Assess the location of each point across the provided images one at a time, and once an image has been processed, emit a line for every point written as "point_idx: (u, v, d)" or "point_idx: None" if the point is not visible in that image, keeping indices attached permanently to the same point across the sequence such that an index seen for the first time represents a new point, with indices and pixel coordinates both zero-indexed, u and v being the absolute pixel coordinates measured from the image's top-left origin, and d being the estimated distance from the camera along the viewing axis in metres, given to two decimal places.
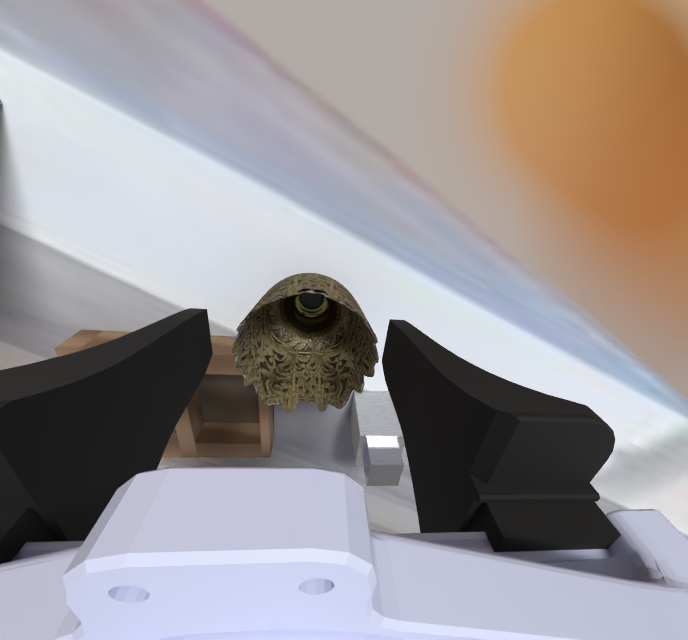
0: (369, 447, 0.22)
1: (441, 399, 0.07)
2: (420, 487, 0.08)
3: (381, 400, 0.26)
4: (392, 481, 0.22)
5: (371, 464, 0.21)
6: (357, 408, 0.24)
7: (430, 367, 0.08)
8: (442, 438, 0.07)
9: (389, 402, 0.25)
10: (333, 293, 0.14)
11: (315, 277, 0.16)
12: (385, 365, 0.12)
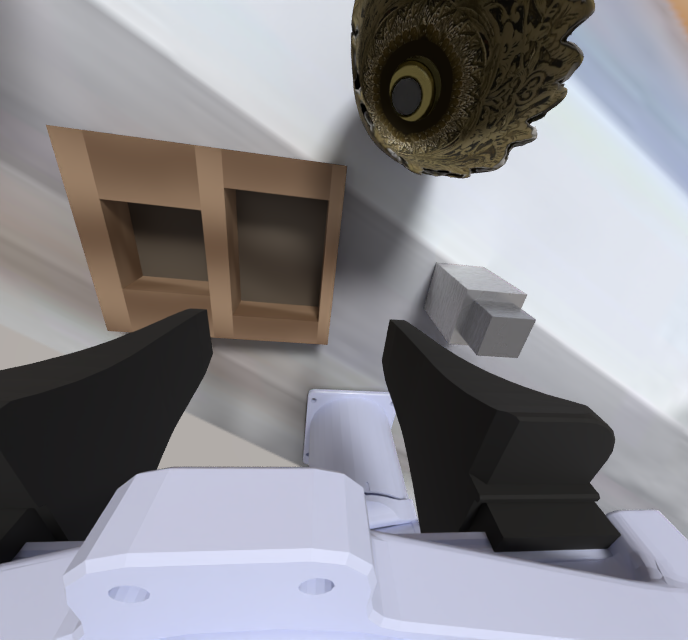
0: (480, 305, 0.16)
1: (441, 399, 0.07)
2: (420, 487, 0.08)
3: (475, 270, 0.20)
4: (512, 349, 0.16)
5: (492, 316, 0.15)
6: (449, 273, 0.19)
7: (430, 367, 0.08)
8: (442, 438, 0.07)
9: (485, 272, 0.20)
10: None
11: None
12: (385, 365, 0.12)
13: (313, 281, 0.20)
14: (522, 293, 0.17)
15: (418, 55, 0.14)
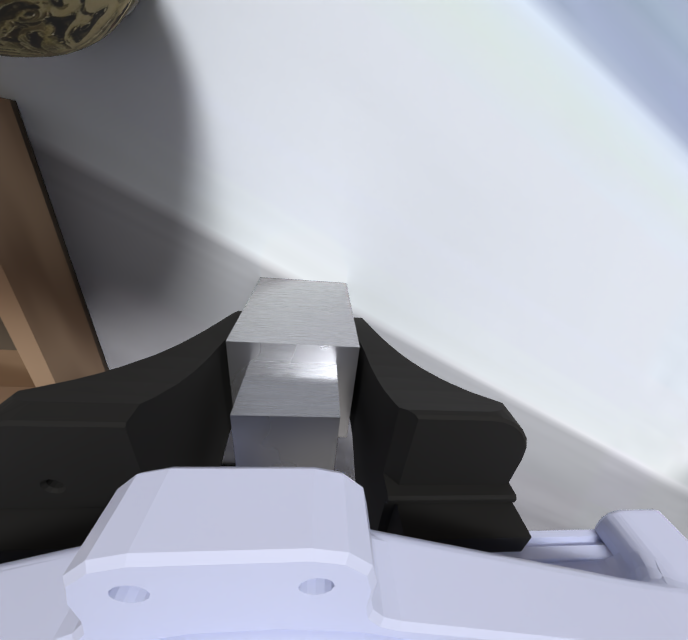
0: (250, 374, 0.08)
1: (372, 397, 0.07)
2: None
3: (316, 291, 0.11)
4: None
5: (233, 414, 0.06)
6: (251, 299, 0.10)
7: (367, 364, 0.08)
8: (371, 437, 0.07)
9: (332, 295, 0.11)
10: None
11: None
12: None
13: None
14: (352, 344, 0.08)
15: None
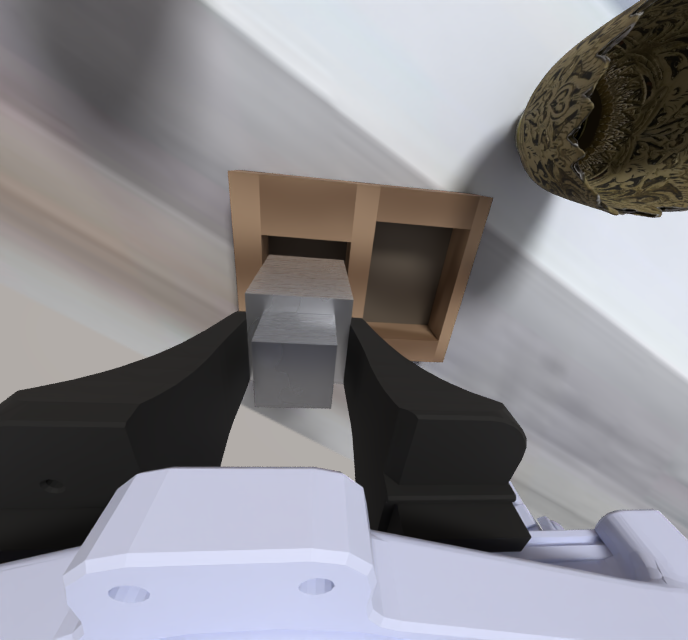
0: (265, 319, 0.09)
1: (372, 397, 0.07)
2: None
3: (317, 265, 0.13)
4: (316, 396, 0.09)
5: (253, 341, 0.08)
6: (263, 268, 0.12)
7: (367, 365, 0.08)
8: (371, 437, 0.07)
9: (331, 267, 0.13)
10: None
11: None
12: None
13: (427, 301, 0.21)
14: (347, 298, 0.10)
15: None
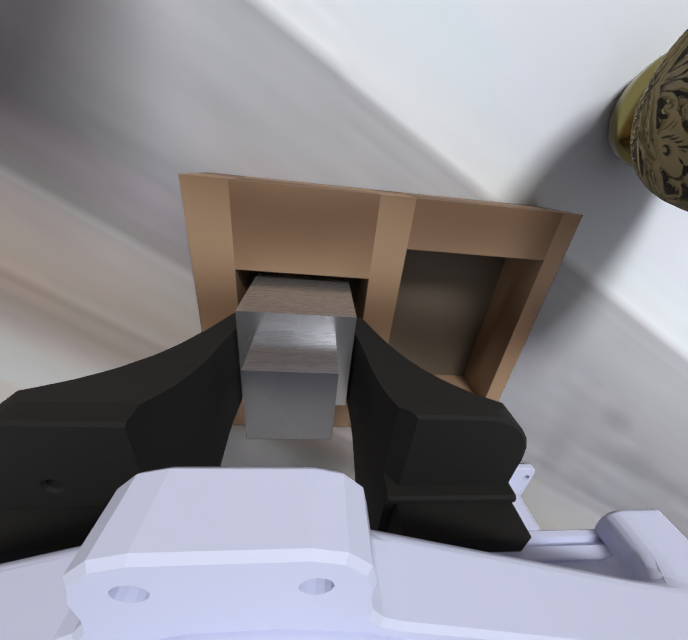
0: (258, 340, 0.08)
1: (372, 397, 0.07)
2: None
3: None
4: (315, 427, 0.08)
5: (243, 370, 0.07)
6: (257, 278, 0.11)
7: (367, 365, 0.08)
8: (371, 437, 0.07)
9: (332, 276, 0.12)
10: None
11: None
12: None
13: (464, 347, 0.16)
14: (350, 315, 0.09)
15: None
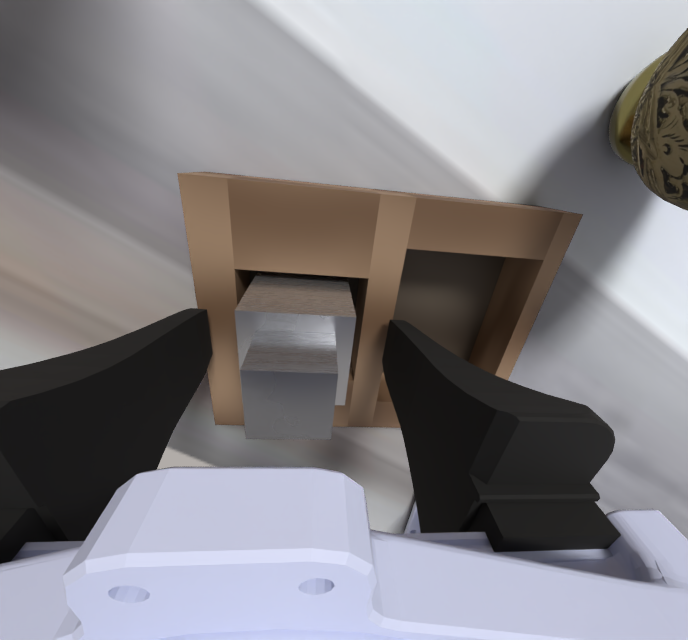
0: (257, 340, 0.08)
1: (441, 399, 0.07)
2: (420, 487, 0.08)
3: None
4: (314, 427, 0.08)
5: (243, 369, 0.07)
6: (256, 278, 0.11)
7: (430, 367, 0.08)
8: (442, 438, 0.07)
9: (332, 276, 0.12)
10: None
11: None
12: (385, 365, 0.12)
13: (464, 347, 0.16)
14: (349, 315, 0.09)
15: None
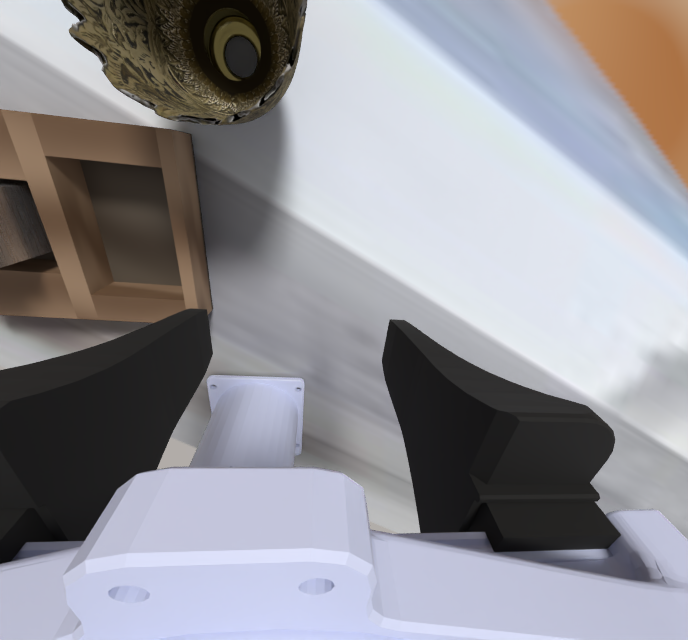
0: None
1: (441, 399, 0.07)
2: (420, 487, 0.08)
3: (7, 182, 0.16)
4: None
5: None
6: None
7: (430, 367, 0.08)
8: (442, 438, 0.07)
9: (16, 184, 0.16)
10: None
11: None
12: (385, 365, 0.12)
13: None
14: None
15: (227, 7, 0.13)
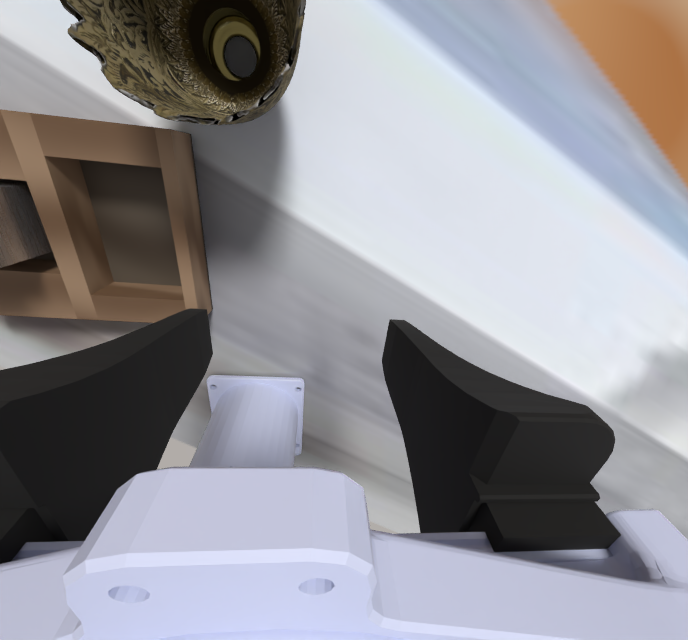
0: None
1: (441, 399, 0.07)
2: (420, 487, 0.08)
3: (6, 182, 0.16)
4: None
5: None
6: None
7: (430, 367, 0.08)
8: (442, 438, 0.07)
9: (15, 184, 0.16)
10: None
11: None
12: (385, 365, 0.12)
13: None
14: None
15: (226, 7, 0.13)
